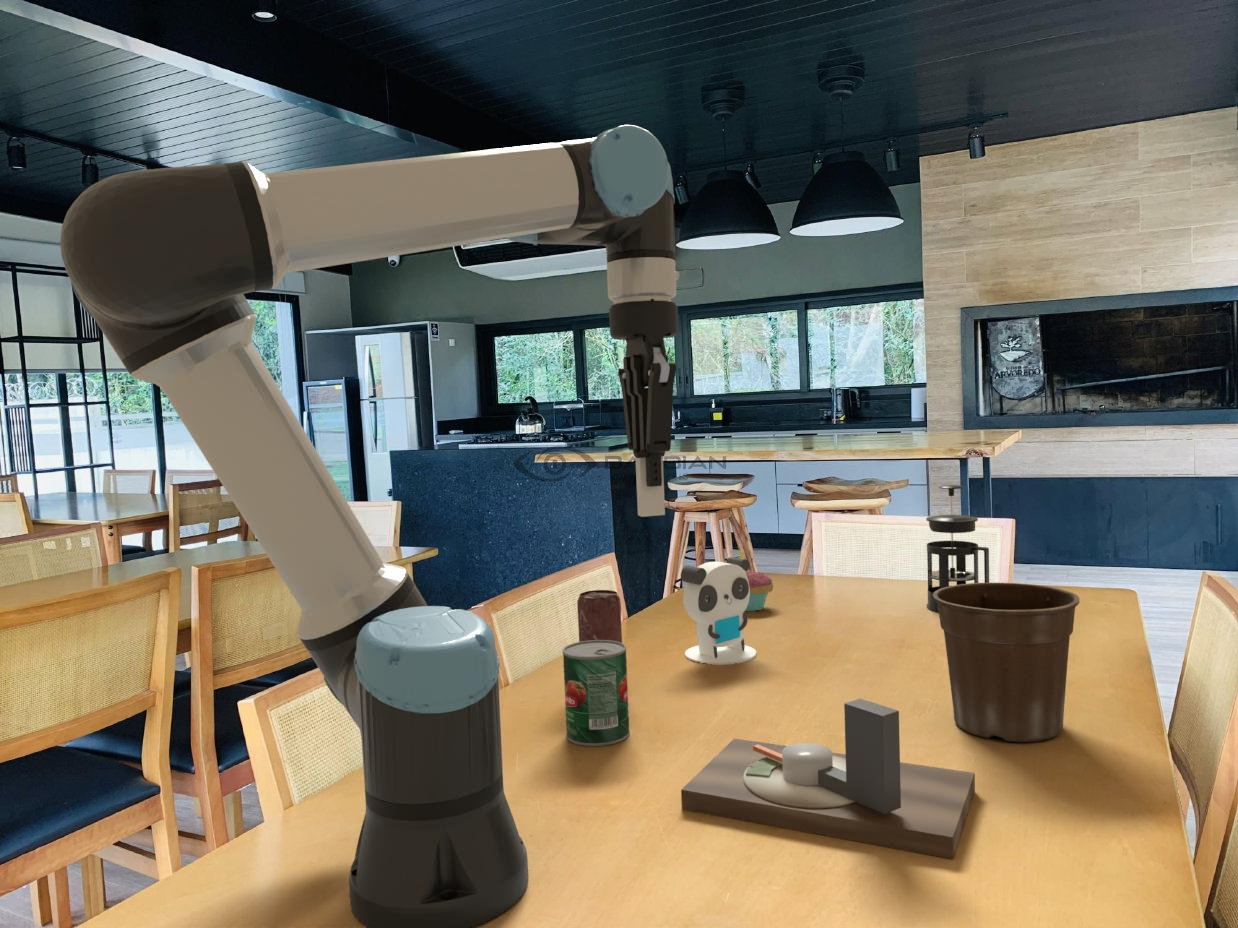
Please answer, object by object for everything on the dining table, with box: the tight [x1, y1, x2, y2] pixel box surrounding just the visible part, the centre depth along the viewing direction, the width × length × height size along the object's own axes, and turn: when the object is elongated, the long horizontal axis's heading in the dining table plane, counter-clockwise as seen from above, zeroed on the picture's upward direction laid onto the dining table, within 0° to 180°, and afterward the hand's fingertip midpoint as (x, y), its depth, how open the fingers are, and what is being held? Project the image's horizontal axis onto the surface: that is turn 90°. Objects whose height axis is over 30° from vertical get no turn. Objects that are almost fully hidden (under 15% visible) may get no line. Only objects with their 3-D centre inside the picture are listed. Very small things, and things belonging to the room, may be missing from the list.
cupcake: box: [738, 546, 774, 612], centre depth 179 cm, size 9×8×12 cm
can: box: [576, 589, 623, 643], centre depth 132 cm, size 6×6×14 cm
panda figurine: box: [680, 556, 757, 666], centre depth 148 cm, size 12×11×15 cm
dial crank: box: [753, 698, 901, 814], centre depth 93 cm, size 19×5×9 cm, turn 34°
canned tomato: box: [562, 640, 631, 747], centre depth 115 cm, size 8×8×11 cm
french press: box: [925, 484, 990, 613], centre depth 171 cm, size 12×9×23 cm
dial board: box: [680, 738, 976, 860], centre depth 94 cm, size 15×26×2 cm, turn 62°
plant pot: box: [933, 582, 1080, 743], centre depth 112 cm, size 16×16×16 cm
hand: (651, 514), depth 103 cm, fingers closed
